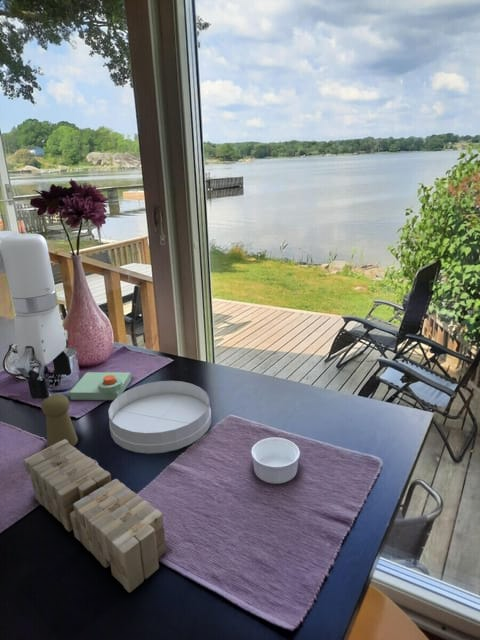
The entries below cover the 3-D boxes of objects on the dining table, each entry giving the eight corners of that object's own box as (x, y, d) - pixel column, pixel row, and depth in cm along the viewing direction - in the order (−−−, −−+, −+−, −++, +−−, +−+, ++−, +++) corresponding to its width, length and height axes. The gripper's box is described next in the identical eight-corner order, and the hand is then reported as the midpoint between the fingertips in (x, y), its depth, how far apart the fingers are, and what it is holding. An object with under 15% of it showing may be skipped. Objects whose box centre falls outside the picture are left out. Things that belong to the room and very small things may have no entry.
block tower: (173, 562, 65) (72, 472, 83) (170, 518, 62) (66, 435, 80) (128, 601, 59) (31, 495, 77) (122, 554, 56) (22, 455, 74)
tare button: (102, 385, 108) (101, 380, 107) (106, 380, 110) (105, 374, 110) (113, 385, 108) (112, 380, 107) (117, 380, 110) (116, 374, 110)
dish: (144, 392, 111) (142, 375, 109) (226, 406, 104) (225, 387, 102) (88, 443, 92) (85, 423, 90) (184, 464, 84) (182, 442, 83)
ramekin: (244, 462, 84) (244, 443, 83) (286, 451, 87) (286, 432, 86) (263, 492, 77) (263, 472, 75) (308, 479, 80) (308, 459, 78)
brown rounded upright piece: (84, 440, 93) (76, 394, 89) (60, 456, 88) (51, 408, 84) (65, 432, 96) (56, 387, 92) (41, 447, 91) (31, 401, 87)
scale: (70, 401, 108) (67, 387, 107) (88, 380, 119) (85, 366, 117) (119, 402, 107) (117, 387, 106) (132, 380, 118) (131, 366, 117)
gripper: (39, 290, 89) (54, 366, 95) (-13, 318, 73) (10, 408, 79) (75, 289, 89) (88, 366, 95) (31, 317, 73) (50, 408, 78)
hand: (52, 385), depth 87 cm, fingers open, 9 cm apart
